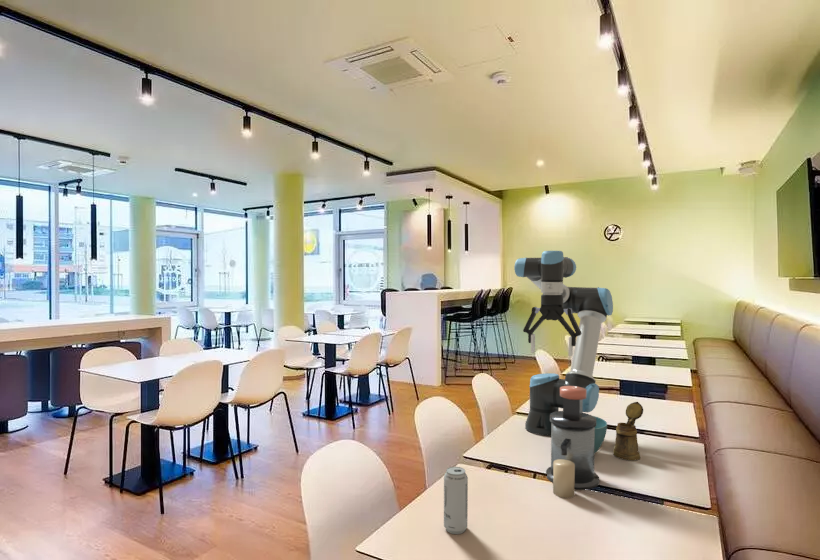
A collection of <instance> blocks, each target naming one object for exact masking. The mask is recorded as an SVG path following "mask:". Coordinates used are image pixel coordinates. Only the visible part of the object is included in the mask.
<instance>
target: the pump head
mask: <svg viewBox="0 0 820 560" xmlns="http://www.w3.org/2000/svg"><path fill="white" fill-rule="evenodd" d="M560 396H561V397H563V398H566V399H573V400H582V399H586V389H585V388H582V387H577V386H562V387H560Z"/></svg>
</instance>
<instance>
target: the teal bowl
mask: <svg viewBox="0 0 820 560" xmlns="http://www.w3.org/2000/svg"><path fill="white" fill-rule="evenodd" d="M593 416H594V417H595V418H596V426H595V437H594V455H595V454H596V453H597V452H598V451H599V449H600V448H601V447H602V445H603V443H604V440H605V438H606V435H607V430H608V422H607V421H606V420H605V419H603V418H600V417H598V416H596V415H593Z"/></svg>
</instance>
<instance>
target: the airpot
mask: <svg viewBox="0 0 820 560" xmlns="http://www.w3.org/2000/svg"><path fill="white" fill-rule="evenodd" d="M594 416H595V415H592V414H590V413H587V412H583V399H582V400H573V399H566V398H563V408H562V410H559V411H556V412H553V413H551V414H550V422H551V435H550V437H551V439H550V440H551V441H550V442H551V443H550V445H551V446H550V447H551V448H550V466H548V468H546V471H545V477H546V479H547V480H548V481H549V482H551V483H552V484H553V462H554V461H555V460H558V459H564V460H569V461H571V462H573V463H574V464H575V484H574V490H579V491H580V490H581V491H582V490H584V491H585V490H591V489H592V490H593V489H595V488H597V487H598V486H599V485H598V484H600V476H599V474H597V473H596V472H595V454H594V437H595V426H596V418H595V417H596V416H595V417H594ZM546 474H547V476H546Z"/></svg>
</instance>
